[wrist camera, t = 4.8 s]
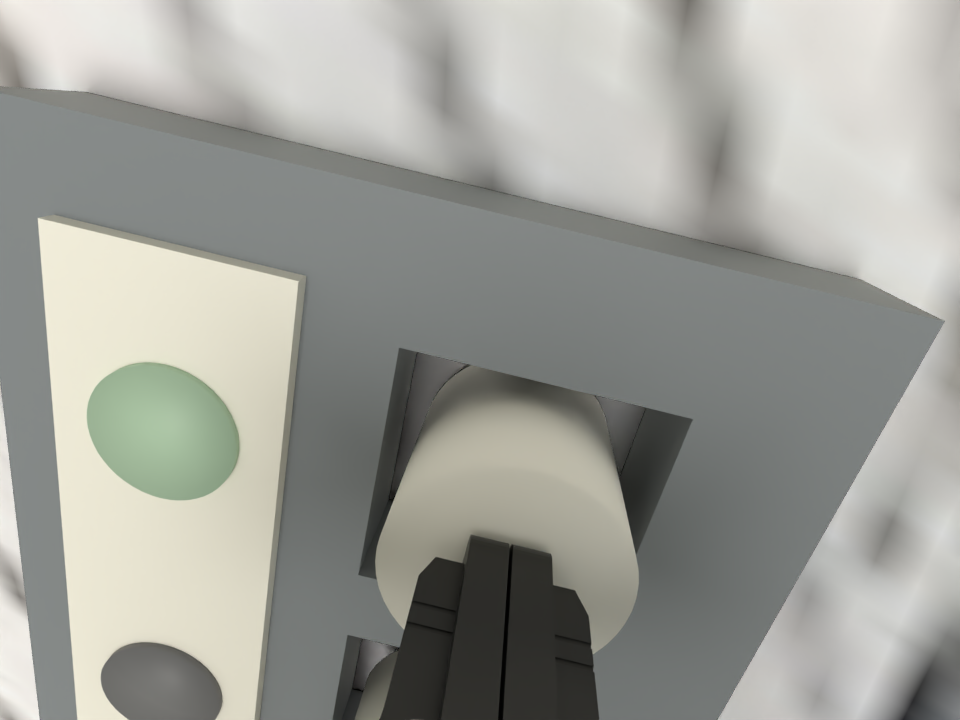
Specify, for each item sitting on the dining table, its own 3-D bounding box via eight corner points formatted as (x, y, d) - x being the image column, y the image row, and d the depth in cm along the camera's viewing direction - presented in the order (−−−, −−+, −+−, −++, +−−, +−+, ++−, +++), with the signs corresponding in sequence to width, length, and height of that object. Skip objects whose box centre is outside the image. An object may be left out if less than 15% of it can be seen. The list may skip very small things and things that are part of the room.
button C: (633, 382, 14) (678, 505, 10) (578, 534, 16) (593, 699, 12) (443, 335, 14) (397, 437, 10) (410, 493, 16) (358, 641, 12)
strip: (306, 276, 11) (294, 283, 11) (237, 925, 21) (229, 947, 20) (54, 215, 11) (29, 220, 11) (99, 891, 21) (87, 912, 20)
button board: (859, 279, 13) (944, 321, 10) (540, 925, 24) (540, 1029, 21) (85, 92, 13) (-35, 84, 10) (117, 820, 24) (62, 910, 21)
